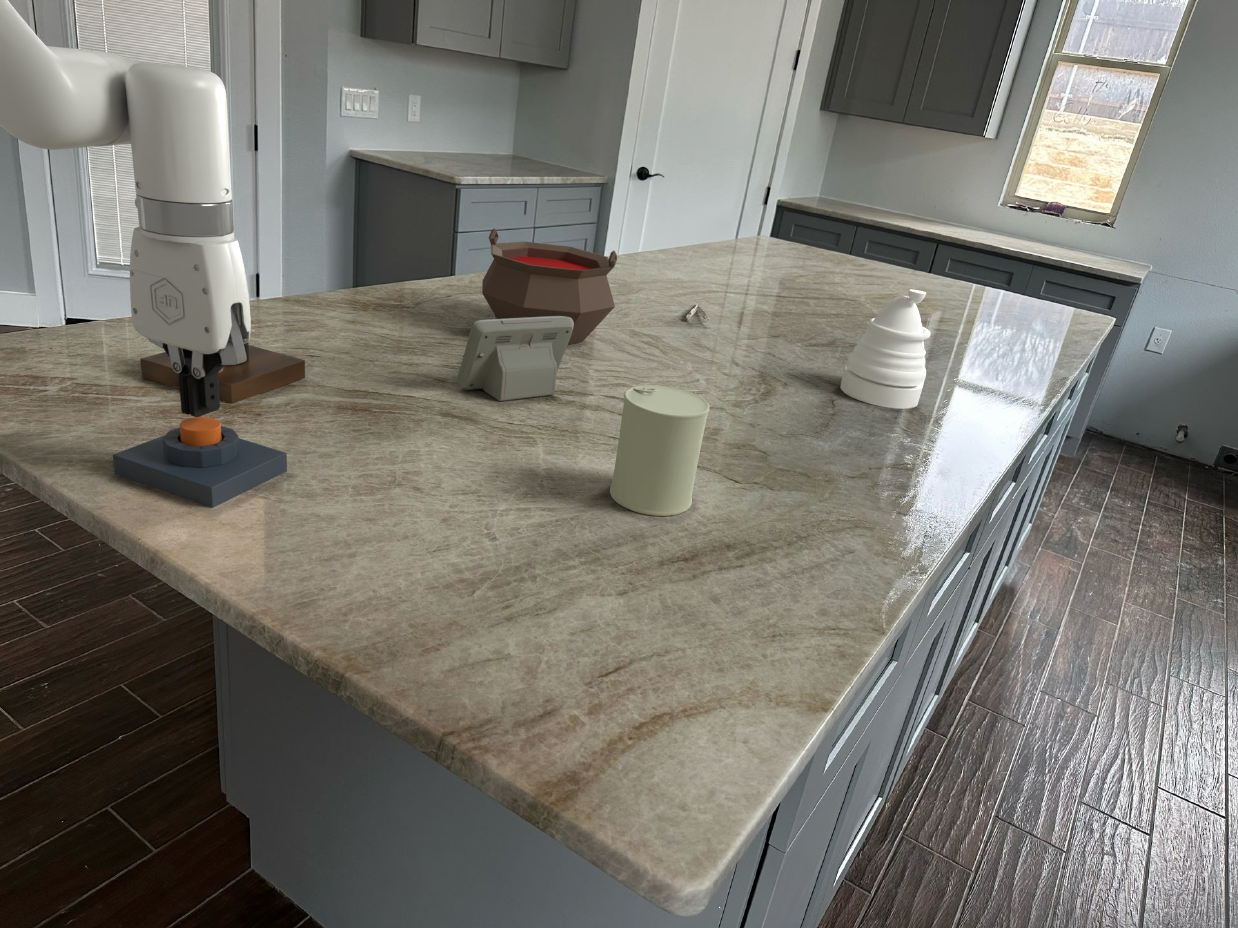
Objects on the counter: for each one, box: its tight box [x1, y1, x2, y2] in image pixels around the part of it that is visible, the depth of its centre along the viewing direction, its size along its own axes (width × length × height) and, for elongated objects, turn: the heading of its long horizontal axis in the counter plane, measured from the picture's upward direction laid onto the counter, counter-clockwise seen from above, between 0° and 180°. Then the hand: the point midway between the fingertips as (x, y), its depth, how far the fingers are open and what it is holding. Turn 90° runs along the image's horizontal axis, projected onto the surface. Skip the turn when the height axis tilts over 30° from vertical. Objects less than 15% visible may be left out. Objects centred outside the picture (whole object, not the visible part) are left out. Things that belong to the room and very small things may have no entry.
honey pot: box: [839, 289, 931, 410], centre depth 138 cm, size 13×13×18 cm
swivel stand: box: [139, 344, 306, 405], centre depth 109 cm, size 14×13×2 cm
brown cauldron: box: [481, 227, 618, 346], centre depth 145 cm, size 24×24×16 cm
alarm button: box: [179, 416, 222, 446], centre depth 83 cm, size 4×4×2 cm
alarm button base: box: [112, 425, 288, 509], centre depth 84 cm, size 12×10×4 cm
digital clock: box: [456, 316, 574, 402], centre depth 118 cm, size 16×9×11 cm, turn 116°
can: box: [609, 384, 710, 517], centre depth 92 cm, size 9×9×12 cm
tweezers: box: [685, 302, 710, 326], centre depth 177 cm, size 18×5×2 cm, turn 175°
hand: (201, 411), depth 82 cm, fingers closed
